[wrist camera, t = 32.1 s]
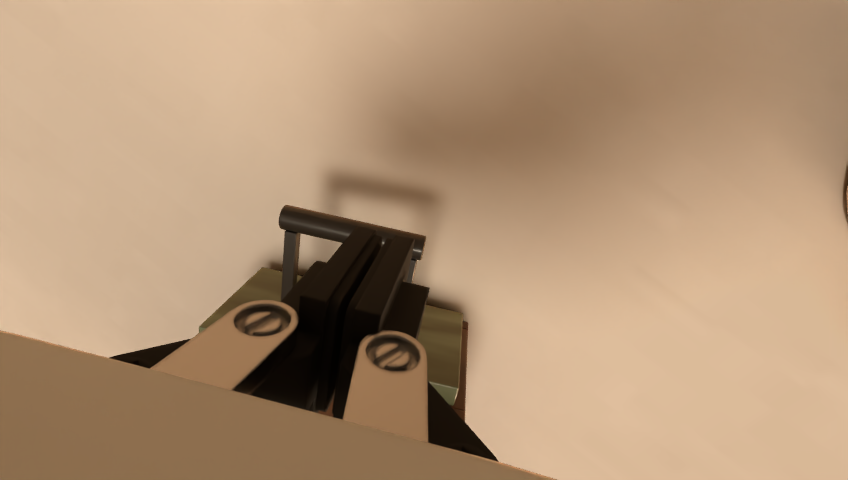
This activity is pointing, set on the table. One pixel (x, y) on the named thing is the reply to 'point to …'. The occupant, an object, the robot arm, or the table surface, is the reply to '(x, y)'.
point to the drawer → (437, 324)
